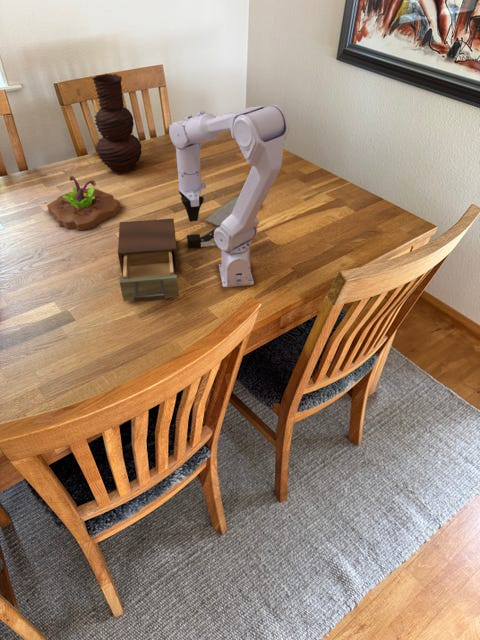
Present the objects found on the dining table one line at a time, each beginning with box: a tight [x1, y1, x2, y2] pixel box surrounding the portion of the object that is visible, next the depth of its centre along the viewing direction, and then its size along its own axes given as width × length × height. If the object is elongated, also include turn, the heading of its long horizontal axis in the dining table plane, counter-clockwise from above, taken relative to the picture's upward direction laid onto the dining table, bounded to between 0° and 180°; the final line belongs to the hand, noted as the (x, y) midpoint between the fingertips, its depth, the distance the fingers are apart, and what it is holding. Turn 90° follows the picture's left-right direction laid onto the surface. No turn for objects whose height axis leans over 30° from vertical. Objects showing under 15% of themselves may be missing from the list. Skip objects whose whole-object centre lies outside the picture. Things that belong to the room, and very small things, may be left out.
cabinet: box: [117, 217, 180, 277], centre depth 124 cm, size 15×15×8 cm
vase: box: [91, 73, 142, 175], centre depth 155 cm, size 15×15×30 cm
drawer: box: [119, 251, 180, 302], centre depth 113 cm, size 19×13×6 cm
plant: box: [46, 175, 121, 231], centre depth 140 cm, size 20×20×11 cm
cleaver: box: [200, 195, 239, 242], centre depth 141 cm, size 29×1×10 cm
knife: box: [186, 233, 218, 250], centre depth 129 cm, size 9×2×3 cm, turn 99°
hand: (192, 217), depth 124 cm, fingers open, 3 cm apart
